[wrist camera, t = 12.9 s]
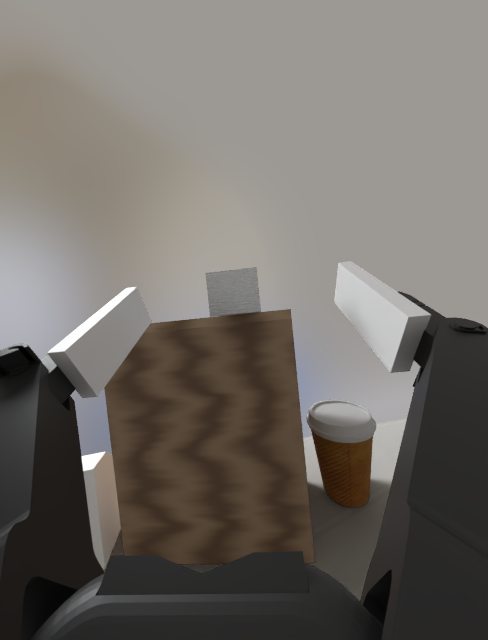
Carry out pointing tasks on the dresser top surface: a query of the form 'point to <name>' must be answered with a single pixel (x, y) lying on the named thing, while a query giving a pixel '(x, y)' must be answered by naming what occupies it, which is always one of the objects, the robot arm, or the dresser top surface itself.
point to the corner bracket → (102, 503)
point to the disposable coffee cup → (343, 449)
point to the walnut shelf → (210, 441)
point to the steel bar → (233, 292)
